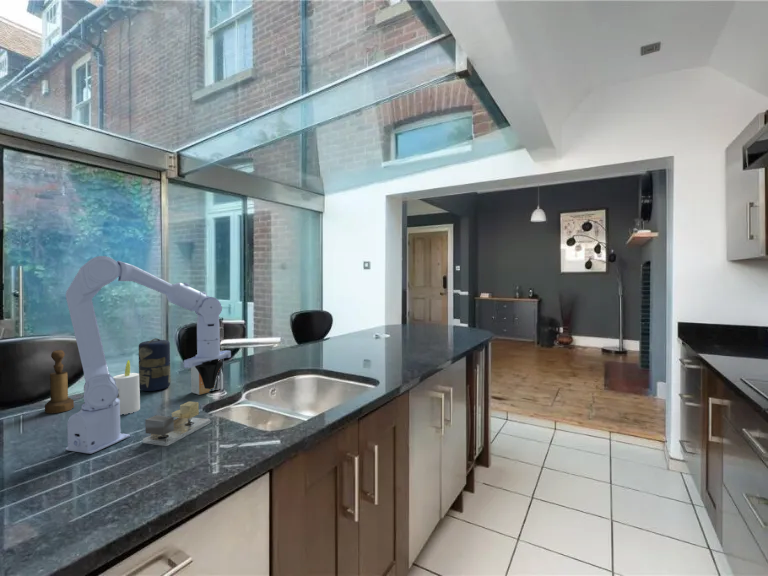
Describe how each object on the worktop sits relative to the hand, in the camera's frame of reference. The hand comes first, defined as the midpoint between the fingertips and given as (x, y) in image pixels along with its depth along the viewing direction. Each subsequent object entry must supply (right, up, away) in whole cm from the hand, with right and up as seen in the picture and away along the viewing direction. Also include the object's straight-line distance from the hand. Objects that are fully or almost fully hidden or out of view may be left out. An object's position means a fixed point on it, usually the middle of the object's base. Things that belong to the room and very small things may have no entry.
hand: (209, 388), depth 102 cm
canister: (-33, -8, +28) cm, 44 cm away
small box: (-13, -8, +25) cm, 29 cm away
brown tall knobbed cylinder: (-49, -9, +8) cm, 50 cm away
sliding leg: (-3, -7, -7) cm, 10 cm away
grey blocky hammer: (-4, -8, -10) cm, 13 cm away
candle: (-27, -9, +6) cm, 29 cm away
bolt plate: (-3, -9, -10) cm, 13 cm away
